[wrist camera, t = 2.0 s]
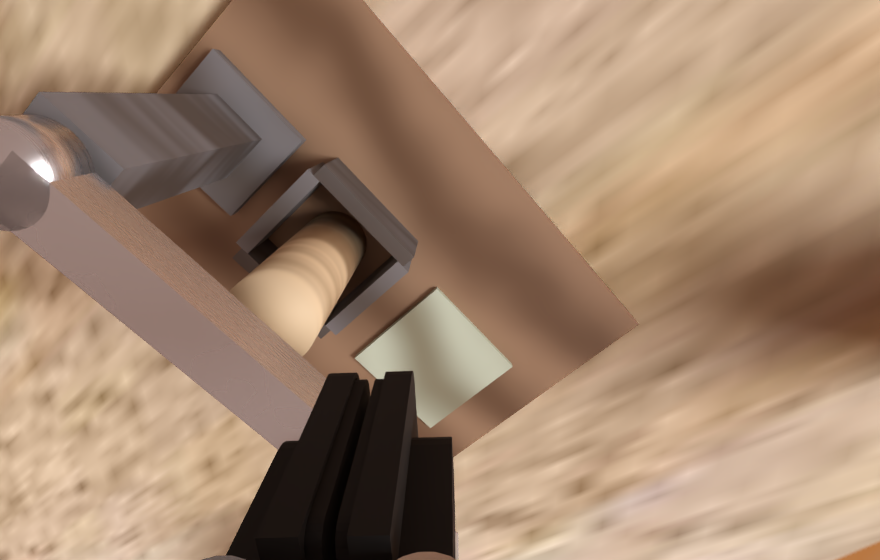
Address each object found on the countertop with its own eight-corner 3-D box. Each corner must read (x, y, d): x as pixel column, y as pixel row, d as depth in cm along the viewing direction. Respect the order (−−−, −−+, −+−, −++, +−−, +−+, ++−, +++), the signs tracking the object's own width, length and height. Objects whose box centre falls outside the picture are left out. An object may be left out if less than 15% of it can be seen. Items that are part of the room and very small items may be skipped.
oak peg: (334, 198, 28) (262, 257, 17) (379, 243, 28) (336, 326, 18) (292, 239, 29) (200, 319, 18) (336, 282, 29) (273, 382, 19)
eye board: (303, -70, 24) (137, -253, 12) (632, 315, 31) (754, 467, 18) (80, 200, 29) (-203, 278, 17) (404, 480, 36) (377, 688, 23)
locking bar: (-25, 163, 15) (-129, 178, 12) (27, 91, 14) (-72, 90, 11) (347, 474, 18) (329, 537, 16) (404, 431, 18) (395, 489, 15)
